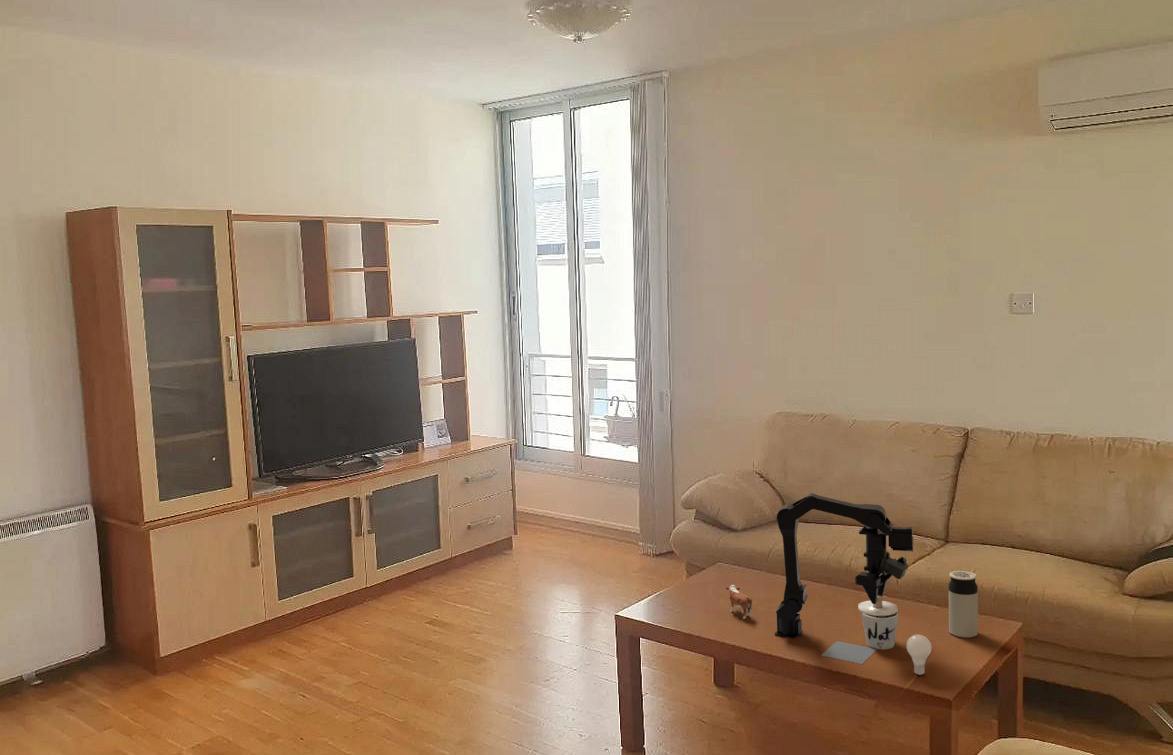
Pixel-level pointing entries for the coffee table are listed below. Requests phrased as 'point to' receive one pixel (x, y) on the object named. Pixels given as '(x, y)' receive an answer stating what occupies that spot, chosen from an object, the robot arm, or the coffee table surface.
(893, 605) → the lid
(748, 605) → the bull figurine
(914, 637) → the lightbulb
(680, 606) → the coffee table surface
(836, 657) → the mat
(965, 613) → the travel mug
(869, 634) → the mug
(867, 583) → the robot arm
